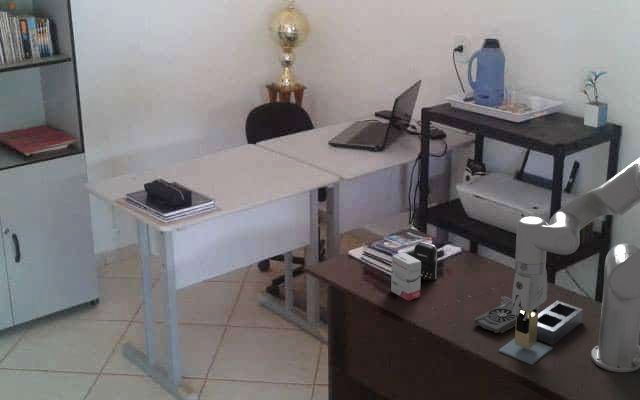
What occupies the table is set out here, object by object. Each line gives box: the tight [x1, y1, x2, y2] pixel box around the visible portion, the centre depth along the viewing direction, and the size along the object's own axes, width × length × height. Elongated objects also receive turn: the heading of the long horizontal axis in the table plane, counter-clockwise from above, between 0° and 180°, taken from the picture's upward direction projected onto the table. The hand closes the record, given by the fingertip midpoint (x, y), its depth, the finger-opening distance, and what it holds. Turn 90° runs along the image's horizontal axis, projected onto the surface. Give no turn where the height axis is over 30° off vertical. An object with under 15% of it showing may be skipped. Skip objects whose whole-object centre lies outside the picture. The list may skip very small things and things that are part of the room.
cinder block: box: [537, 300, 584, 345], centre depth 237 cm, size 8×16×4 cm, turn 136°
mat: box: [498, 337, 553, 366], centre depth 228 cm, size 10×10×1 cm
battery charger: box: [413, 241, 438, 282], centre depth 267 cm, size 7×4×11 cm, turn 51°
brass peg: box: [514, 310, 539, 349], centre depth 226 cm, size 4×4×9 cm
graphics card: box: [473, 295, 516, 334], centre depth 243 cm, size 17×4×12 cm
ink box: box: [390, 251, 422, 302], centre depth 258 cm, size 9×5×12 cm, turn 34°
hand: (526, 327), depth 225 cm, fingers closed on brass peg, 3 cm apart
